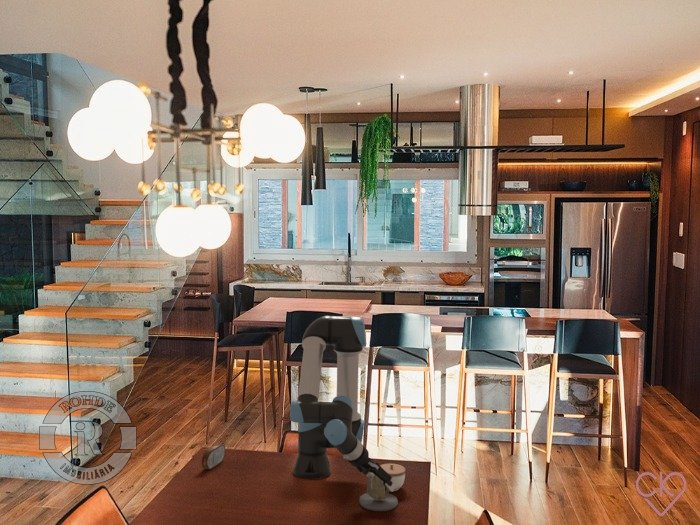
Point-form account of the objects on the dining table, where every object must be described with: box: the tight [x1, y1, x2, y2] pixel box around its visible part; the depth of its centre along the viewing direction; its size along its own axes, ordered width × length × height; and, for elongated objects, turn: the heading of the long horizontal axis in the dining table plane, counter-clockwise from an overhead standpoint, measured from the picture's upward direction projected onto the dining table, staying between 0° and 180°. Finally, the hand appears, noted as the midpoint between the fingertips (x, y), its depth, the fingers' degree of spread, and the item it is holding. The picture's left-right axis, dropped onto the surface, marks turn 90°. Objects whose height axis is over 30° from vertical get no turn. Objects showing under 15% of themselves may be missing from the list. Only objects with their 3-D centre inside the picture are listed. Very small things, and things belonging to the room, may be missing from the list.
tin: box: [201, 442, 226, 470], centre depth 272 cm, size 15×3×8 cm, turn 160°
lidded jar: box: [379, 463, 406, 492], centre depth 253 cm, size 11×11×9 cm
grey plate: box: [358, 492, 399, 512], centre depth 240 cm, size 14×14×1 cm
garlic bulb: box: [366, 474, 390, 500], centre depth 239 cm, size 9×8×10 cm
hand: (385, 484), depth 241 cm, fingers closed on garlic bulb, 7 cm apart
